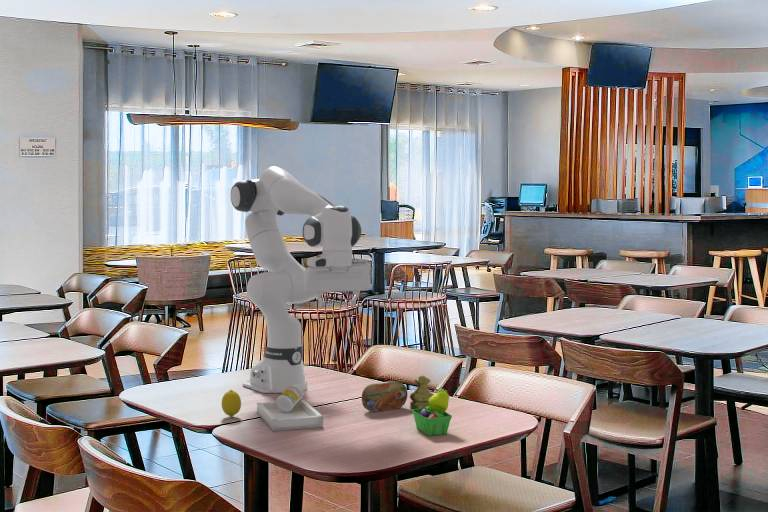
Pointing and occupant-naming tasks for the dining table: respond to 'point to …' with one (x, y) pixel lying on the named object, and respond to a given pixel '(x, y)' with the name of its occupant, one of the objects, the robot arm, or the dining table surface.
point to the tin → (384, 396)
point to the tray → (290, 416)
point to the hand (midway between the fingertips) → (337, 306)
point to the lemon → (231, 403)
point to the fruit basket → (434, 415)
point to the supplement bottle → (290, 398)
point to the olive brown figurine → (420, 394)
